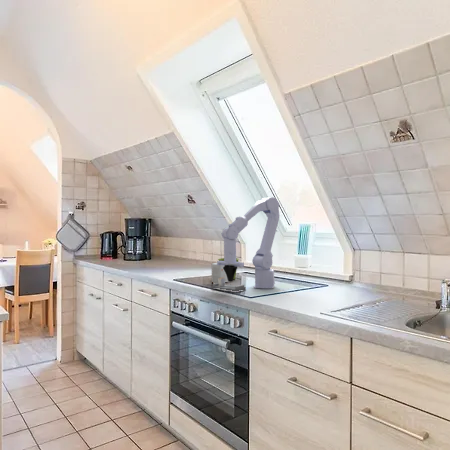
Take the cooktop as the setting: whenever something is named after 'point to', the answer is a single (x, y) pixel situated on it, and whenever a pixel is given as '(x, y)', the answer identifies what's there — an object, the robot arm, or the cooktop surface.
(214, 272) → the small box
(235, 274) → the plant pot
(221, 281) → the fader knob
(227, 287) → the console strip
